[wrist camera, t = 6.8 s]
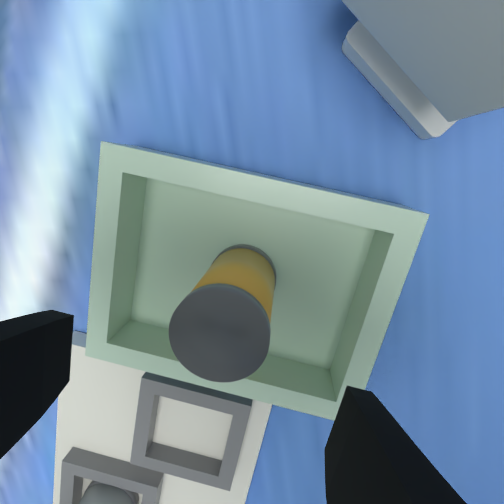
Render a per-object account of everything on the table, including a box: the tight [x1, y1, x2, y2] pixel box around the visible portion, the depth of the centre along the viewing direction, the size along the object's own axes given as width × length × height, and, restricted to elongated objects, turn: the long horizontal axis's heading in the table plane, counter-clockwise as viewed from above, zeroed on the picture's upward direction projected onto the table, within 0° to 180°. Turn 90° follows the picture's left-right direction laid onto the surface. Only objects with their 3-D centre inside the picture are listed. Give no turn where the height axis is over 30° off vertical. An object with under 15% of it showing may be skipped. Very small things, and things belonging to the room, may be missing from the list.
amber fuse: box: [168, 244, 276, 383], centre depth 13 cm, size 3×3×6 cm
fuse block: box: [53, 331, 272, 504], centre depth 19 cm, size 12×13×2 cm
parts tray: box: [85, 141, 429, 421], centre depth 15 cm, size 13×10×3 cm
